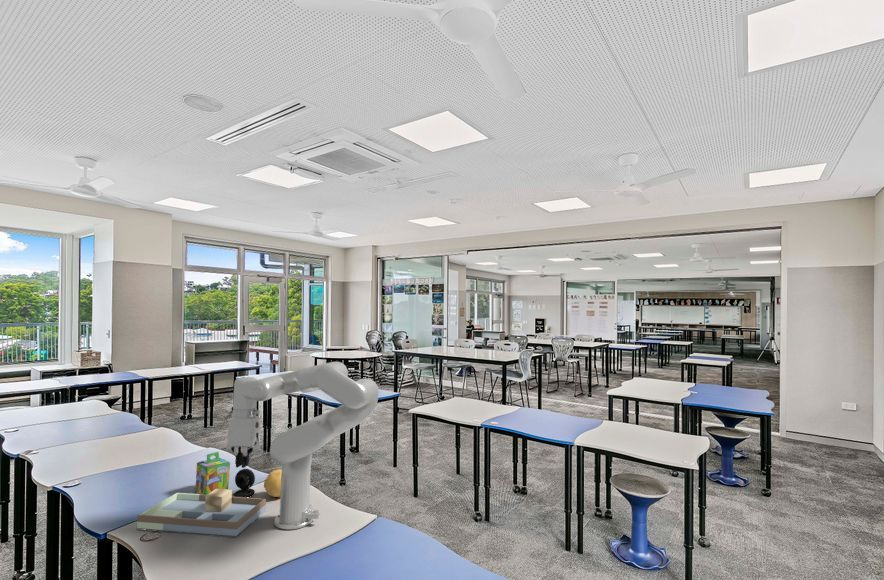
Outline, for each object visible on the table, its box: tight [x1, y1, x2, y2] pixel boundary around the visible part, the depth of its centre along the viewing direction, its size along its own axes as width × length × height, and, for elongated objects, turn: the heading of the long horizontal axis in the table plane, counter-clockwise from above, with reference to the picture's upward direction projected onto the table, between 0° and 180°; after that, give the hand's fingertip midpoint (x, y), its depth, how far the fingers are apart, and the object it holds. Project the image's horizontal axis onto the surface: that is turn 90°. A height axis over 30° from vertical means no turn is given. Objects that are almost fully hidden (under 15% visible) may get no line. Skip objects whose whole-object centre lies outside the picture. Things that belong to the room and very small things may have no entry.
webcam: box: [233, 468, 256, 498], centre depth 167 cm, size 8×8×10 cm
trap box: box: [136, 492, 267, 539], centre depth 146 cm, size 34×18×4 cm, turn 84°
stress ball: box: [263, 468, 282, 498], centre depth 167 cm, size 10×10×10 cm
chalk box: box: [195, 451, 231, 495], centre depth 170 cm, size 9×9×15 cm
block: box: [205, 489, 233, 512], centre depth 151 cm, size 6×6×5 cm
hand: (242, 466), depth 151 cm, fingers closed
